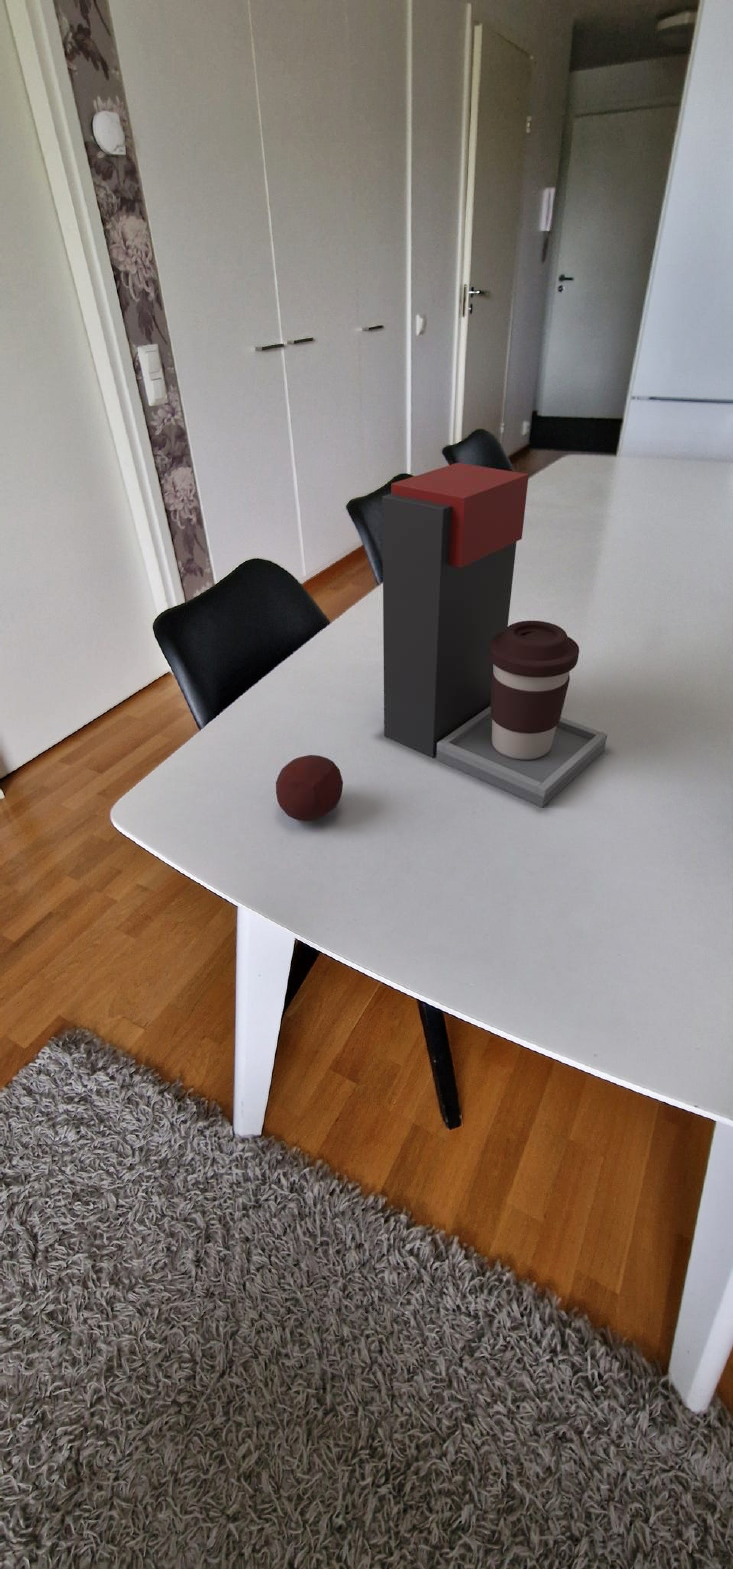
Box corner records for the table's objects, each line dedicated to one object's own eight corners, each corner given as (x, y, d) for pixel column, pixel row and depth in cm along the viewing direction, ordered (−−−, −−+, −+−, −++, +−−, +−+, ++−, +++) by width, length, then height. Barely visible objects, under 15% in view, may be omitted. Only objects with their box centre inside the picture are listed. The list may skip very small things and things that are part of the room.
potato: (354, 801, 81) (352, 750, 77) (323, 842, 75) (319, 789, 71) (299, 786, 83) (294, 736, 79) (264, 824, 78) (257, 772, 74)
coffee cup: (570, 767, 83) (591, 651, 74) (485, 768, 83) (496, 652, 74) (553, 723, 91) (570, 613, 82) (476, 724, 91) (485, 614, 82)
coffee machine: (604, 750, 88) (660, 491, 70) (542, 807, 79) (588, 527, 61) (451, 692, 101) (465, 460, 82) (384, 736, 92) (381, 486, 73)
